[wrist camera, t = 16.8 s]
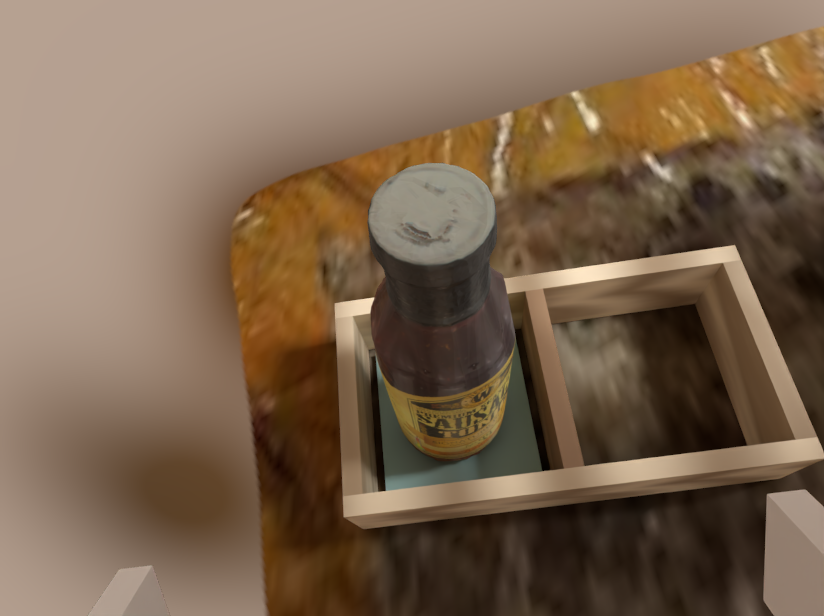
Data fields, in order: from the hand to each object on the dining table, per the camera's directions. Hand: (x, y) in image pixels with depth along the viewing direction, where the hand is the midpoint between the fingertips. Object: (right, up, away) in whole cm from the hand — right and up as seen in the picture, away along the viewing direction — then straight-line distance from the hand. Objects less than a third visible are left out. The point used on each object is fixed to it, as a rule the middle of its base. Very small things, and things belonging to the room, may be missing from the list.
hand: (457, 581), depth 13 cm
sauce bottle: (+2, 0, +23) cm, 23 cm away
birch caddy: (+7, 0, +23) cm, 24 cm away
